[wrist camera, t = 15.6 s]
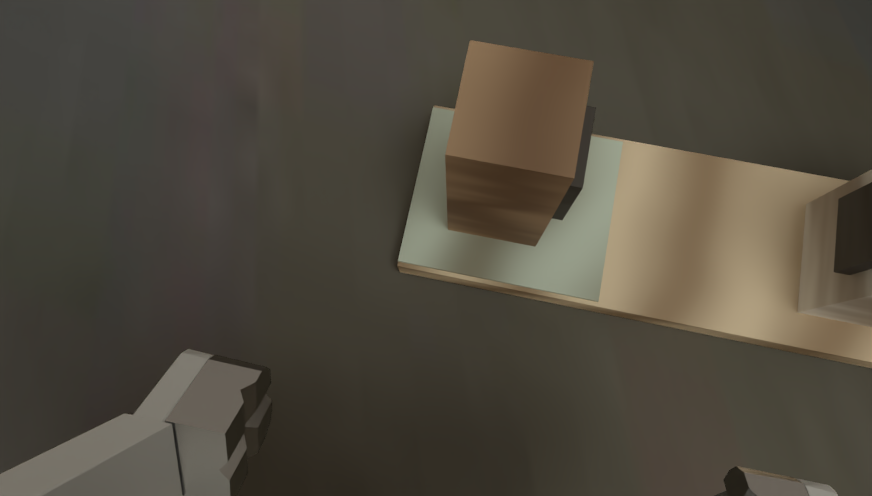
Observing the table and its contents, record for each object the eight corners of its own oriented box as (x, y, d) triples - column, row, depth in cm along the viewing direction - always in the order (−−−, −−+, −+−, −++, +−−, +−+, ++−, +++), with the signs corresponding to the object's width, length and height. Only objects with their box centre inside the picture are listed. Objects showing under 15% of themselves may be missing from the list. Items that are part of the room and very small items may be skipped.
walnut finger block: (447, 229, 28) (445, 154, 19) (464, 148, 28) (470, 40, 20) (548, 249, 27) (593, 181, 18) (563, 166, 28) (612, 64, 19)
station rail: (399, 272, 29) (371, 207, 19) (435, 119, 31) (426, -18, 20) (925, 379, 27) (1210, 372, 17) (930, 209, 29) (1192, 110, 19)
